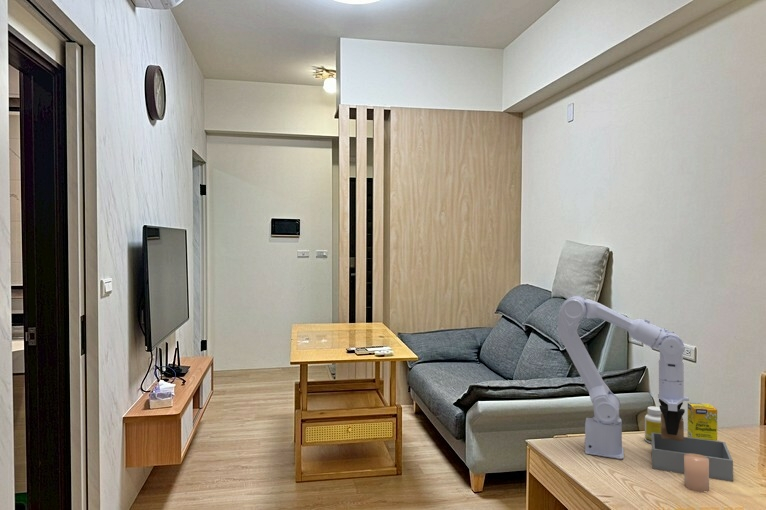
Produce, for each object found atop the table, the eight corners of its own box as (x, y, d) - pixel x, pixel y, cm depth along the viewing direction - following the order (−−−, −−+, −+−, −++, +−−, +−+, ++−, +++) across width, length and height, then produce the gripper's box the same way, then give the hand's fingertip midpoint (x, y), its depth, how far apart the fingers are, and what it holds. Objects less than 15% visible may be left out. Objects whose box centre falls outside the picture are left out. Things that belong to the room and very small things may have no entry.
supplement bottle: (668, 446, 146) (668, 411, 146) (648, 444, 147) (647, 410, 147) (662, 439, 152) (662, 405, 152) (642, 437, 153) (642, 405, 153)
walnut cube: (661, 438, 134) (661, 419, 134) (660, 431, 139) (660, 413, 139) (683, 441, 132) (683, 421, 132) (682, 434, 136) (682, 415, 136)
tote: (652, 468, 132) (652, 449, 132) (651, 450, 143) (651, 432, 143) (733, 481, 124) (732, 460, 124) (725, 460, 136) (724, 441, 136)
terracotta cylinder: (685, 489, 120) (684, 459, 120) (683, 480, 125) (683, 452, 125) (710, 493, 118) (710, 463, 118) (707, 484, 123) (707, 455, 122)
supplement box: (694, 446, 146) (694, 408, 145) (687, 439, 151) (686, 402, 151) (718, 448, 144) (717, 409, 144) (709, 440, 150) (709, 403, 150)
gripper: (691, 387, 127) (691, 442, 127) (686, 374, 140) (686, 424, 140) (658, 384, 130) (659, 438, 130) (657, 372, 143) (657, 420, 143)
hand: (671, 430), depth 135 cm, fingers closed on walnut cube, 5 cm apart
